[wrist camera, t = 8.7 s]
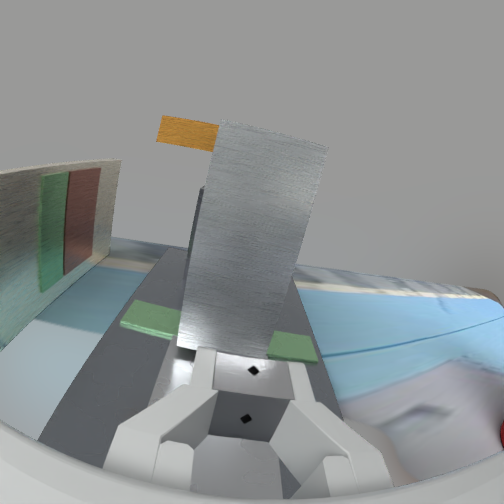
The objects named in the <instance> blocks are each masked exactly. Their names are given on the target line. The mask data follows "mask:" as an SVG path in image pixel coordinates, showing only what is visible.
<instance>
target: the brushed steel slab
mask: <svg viewBox="0 0 504 504" xmlns="http://www.w3.org/2000/svg"><path fill="white" fill-rule="evenodd" d="M156 142H162V143H168V144H174V145H180V146H185V147H190V148H195V149H200V150H206V151H210V152H213V154H212V158H211V162H210V166H209V171H208V175H207V180H206V184H205V189H204V193H203V198H202V202H201V207H200V212H199V217H198V222H197V227H196V232H195V237H194V242H193V247H192V253H191V258H190V264H189V269H188V275H187V281H186V287H185V293H184V299H183V305H182V311H181V318H180V325H179V331H178V338H177V346H180V347H184V348H188V349H192V350H197V348H198V346H202V347H206V348H211V349H216V350H221V351H226V352H231V353H236V354H241V355H246V356H251V357H256V358H262V359H265V356H266V353H267V350H268V348H269V345H270V342H271V339H272V336H273V333H274V330H275V327H276V324H277V321H278V318H279V315H280V312H281V309H282V306H283V303H284V299H285V296H286V293H287V290H288V287H289V284H290V281H291V277H292V274H293V271H294V268H295V264H296V261H297V258H298V255H299V251H300V248H301V244H302V241H303V238H304V234H305V231H306V227H307V224H308V221H309V217H310V214H311V210H312V207H313V203H314V200H315V196H316V192H317V189H318V185H319V181H320V178H321V174H322V170H323V166H324V163H325V159H326V155H327V151H328V147H326V146H323V145H320V144H316V143H313V142H310V141H306V140H303V139H299V138H296V137H292V136H289V135H285V134H282V133H277V132H274V131H270V130H266V129H262V128H257V127H253V126H249V125H245V124H241V123H236V122H231V121H226V120H221V121H220V125H215V124H210V123H205V122H200V121H193V120H188V119H182V118H176V117H170V116H162V120H161V124H160V128H159V132H158V136H157V141H156Z"/></svg>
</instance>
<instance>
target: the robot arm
mask: <svg viewBox="0 0 504 504" xmlns="http://www.w3.org/2000/svg"><path fill="white" fill-rule="evenodd" d="M208 435H214V436H222V437H230V438H239V439H246V440H254V441H263V442H269V444H270V446H271V447H272V448H273V450H274V451H275V452H276V454H277V455H278V456H279V458H280V459H281V460H282V462H283V463H284V464H285V466H286V467H287V468H288V469H289V471H290V472H291V473H292V475H293V476H294V477H295V478H296V480H297V481H298V482H299V483H300V485H301V487H300V488H299V489H298V490H297V491H296V492H295V494H294V495H293V496H292V497H291V498H290V499H254V498H239V497H228V496H218V495H210V494H203V493H196V492H190V483H191V474H192V464H193V455H194V449H195V448H196V447H197V446H198V445H199V444H200V443H201V442H202V441H203V440H204V439H205V438H206V437H207V436H208ZM0 504H504V450H503V451H501V452H498V453H496V454H494V455H492V456H490V457H487V458H485V459H483V460H480V461H478V462H476V463H473V464H471V465H468V466H465V467H463V468H460V469H457V470H454V471H452V472H449V473H446V474H443V475H439V476H436V477H433V478H430V479H426V480H423V481H419V482H415V483H411V484H407V485H403V486H399V487H394V484H393V482H392V479H391V477H390V474H389V471H388V469H387V466H386V464H385V461H384V459H383V456H382V454H381V452H380V451H379V450H378V449H377V448H376V447H374V446H373V445H372V444H370V443H369V442H368V441H367V440H365V439H364V438H363V437H362V436H360V435H359V434H358V433H357V432H355V431H354V430H353V429H352V428H351V427H349V426H348V425H347V424H346V423H345V422H343V421H342V420H341V419H340V418H339V417H337V416H336V415H335V414H334V413H333V412H331V411H330V410H329V409H328V408H327V407H326V406H324V405H323V404H322V403H321V402H316V401H315V398H314V394H313V391H312V387H311V384H310V381H309V377H308V374H307V370H306V367H305V365H304V364H303V363H299V362H289V361H286V362H283V361H276V360H269V359H262V358H256V357H251V356H246V355H241V354H236V353H231V352H226V351H221V350H216V349H211V348H206V347H202V346H198V348H197V351H196V356H195V361H194V365H193V370H192V375H191V380H190V385H188V384H183V385H181V386H180V387H178V388H177V389H175V390H174V391H172V392H171V393H169V394H168V395H166V396H165V397H163V398H162V399H160V400H158V401H157V402H155V403H154V404H152V405H151V406H149V407H147V408H146V409H144V410H143V411H141V412H139V413H138V414H136V415H135V416H133V417H131V418H130V419H128V420H126V421H125V422H123V423H121V424H120V425H118V428H117V430H116V433H115V436H114V438H113V441H112V443H111V446H110V449H109V452H108V454H107V457H106V460H105V462H104V465H103V468H102V469H101V468H99V467H96V466H93V465H90V464H88V463H85V462H83V461H80V460H78V459H75V458H73V457H71V456H68V455H66V454H64V453H61V452H59V451H57V450H55V449H53V448H51V447H49V446H46V445H44V444H42V443H40V442H38V441H36V440H35V439H33V438H31V437H29V436H27V435H25V434H23V433H22V432H20V431H18V430H16V429H15V428H13V427H11V426H10V425H8V424H6V423H5V422H3V421H1V420H0Z"/></svg>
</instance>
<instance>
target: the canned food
mask: <svg viewBox="0 0 504 504" xmlns="http://www.w3.org/2000/svg"><path fill="white" fill-rule="evenodd" d="M501 440H502V444H503V447H504V421H503V424H502V426H501Z"/></svg>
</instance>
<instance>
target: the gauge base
mask: <svg viewBox="0 0 504 504" xmlns="http://www.w3.org/2000/svg"><path fill="white" fill-rule="evenodd" d="M121 161H122V160H120V159H97V160H84V161H73V162H62V163H52V164H44V165H36V166H29V167H21V168H15V169H9V170H2V171H0V352H1V351H2V350H3V349H4V347H6V346H7V344H9V343H10V342H11V340H13V339H14V338H15V336H17V335H18V334H19V332H21V331H22V330H23V329H24V328H25V326H27V325H28V324H29V323H30V322H31V321H32V320H33V319H34V318H35V317H36V316H37V315H39V314H40V313H41V312H42V311H43V310H44V309H45V308H46V307H47V306H48V305H49V304H51V303H52V302H53V301H54V300H55V299H56V298H57V297H58V296H60V295H61V294H62V293H63V292H64V291H65V290H66V289H68V288H69V287H70V286H71V285H72V284H73V283H75V282H76V281H77V280H78V279H79V278H80V277H82V276H83V275H84V274H85V273H86V272H88V271H89V270H90V269H91V268H92V267H94V266H95V265H96V264H97V263H99V262H100V261H101V260H102V259H104V258H105V257H106V256H107V255H109V254H110V241H111V231H112V221H113V213H114V205H115V198H116V190H117V183H118V177H119V171H120V166H121ZM204 189H205V186H203V187H202V188H201V189H200V193H199V197H198V201H197V206H196V211H195V216H194V221H193V226H192V231H191V237H190V242H189V247H188V251H184V250H179V249H175V248H171V247H169V248H168V249H167V251H166V252H165V253H164V255H163V256H162V257H161V258H160V260H159V261H158V262H157V263H156V265H155V266H154V267H153V269H152V270H151V271H150V273H149V274H148V275H147V276H146V278H145V279H144V280H143V282H142V283H141V284H140V286H139V287H138V288H137V290H136V291H135V292H134V294H133V295H132V296H131V298H130V299H129V300H128V302H127V303H126V305H125V306H124V307H123V309H122V310H121V311H120V313H119V314H118V316H117V317H116V318H115V320H114V321H113V323H112V324H111V325H110V327H109V328H108V330H107V331H106V333H105V334H104V335H103V337H102V338H101V340H100V341H99V343H98V344H97V346H96V347H95V349H94V350H93V351H92V353H91V355H90V356H89V358H88V359H87V361H86V362H85V363H84V365H83V367H82V368H81V370H80V371H79V373H78V374H77V376H76V377H75V379H74V380H73V382H72V383H71V385H70V387H69V388H68V390H67V392H66V393H65V395H64V396H63V398H62V400H61V401H60V403H59V405H58V406H57V408H56V409H55V411H54V413H53V415H52V416H51V418H50V420H49V421H48V423H47V425H46V426H45V428H44V430H43V431H42V433H41V435H40V437H39V439H38V440H37V441H38V442H40V443H42V444H44V445H46V446H49V447H51V448H53V449H55V450H57V451H59V452H61V453H64V454H66V455H68V456H71V457H73V458H75V459H78V460H80V461H83V462H85V463H88V464H90V465H93V466H96V467H99V468H101V469H102V468H103V465H104V462H105V460H106V457H107V454H108V452H109V449H110V446H111V443H112V441H113V438H114V436H115V433H116V430H117V428H118V425H120V424H121V423H123V422H125V421H126V420H128V419H130V418H131V417H133V416H135V415H136V414H138V413H139V412H141V411H143V410H144V409H146V408H147V407H149V406H151V405H152V404H154V403H155V402H157V401H158V400H160V399H162V398H163V397H165V396H166V395H168V394H169V393H171V392H172V391H174V390H175V389H177V388H178V387H180V386H181V385H183V384H188V385H190V380H191V375H192V370H193V365H194V361H195V356H196V351H197V350H192V349H188V348H184V347H180V346H177V338H178V331H179V325H180V318H181V311H182V305H183V299H184V293H185V287H186V281H187V275H188V269H189V264H190V258H191V253H192V247H193V242H194V237H195V232H196V227H197V222H198V217H199V212H200V207H201V202H202V198H203V193H204ZM265 359H269V360H276V361H283V362H286V361H289V362H299V363H303V364H304V365H305V367H306V370H307V374H308V377H309V381H310V384H311V387H312V391H313V394H314V398H315V401H316V402H321V403H322V404H323V405H324V406H326V407H327V408H328V409H329V410H330V411H331V412H333V413H334V414H335V415H336V416H337V417H339V418H340V419H341V420H342V421H343V422H344V420H343V417H342V414H341V411H340V408H339V405H338V403H337V400H336V397H335V394H334V391H333V388H332V385H331V382H330V379H329V376H328V374H327V371H326V368H325V365H324V362H323V359H322V357H321V354H320V351H319V348H318V345H317V343H316V340H315V337H314V334H313V332H312V329H311V326H310V323H309V321H308V318H307V315H306V313H305V310H304V307H303V305H302V302H301V299H300V296H299V294H298V291H297V288H296V286H295V283H294V281H293V278H292V277H291V281H290V284H289V287H288V290H287V293H286V296H285V299H284V303H283V306H282V309H281V312H280V315H279V318H278V321H277V324H276V327H275V330H274V333H273V336H272V339H271V342H270V345H269V348H268V350H267V353H266V356H265ZM300 487H301V485H300V483H299V482H298V481H297V480H296V478H295V477H294V476H293V475H292V473H291V472H290V471H289V469H288V468H287V467H286V466H285V464H284V463H283V462H282V460H281V459H280V458H279V456H278V455H277V454H276V452H275V451H274V450H273V448H272V447H271V446H270V444H269V442H263V441H254V440H246V439H239V438H230V437H222V436H214V435H208V436H207V437H206V438H205V439H204V440H203V441H202V442H201V443H200V444H199V445H198V446H197V447H196V448H195V449H194V455H193V464H192V474H191V483H190V492H196V493H203V494H210V495H218V496H228V497H239V498H254V499H290V498H291V497H292V496H293V495H294V494H295V492H296V491H297V490H298V489H299V488H300Z"/></svg>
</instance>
